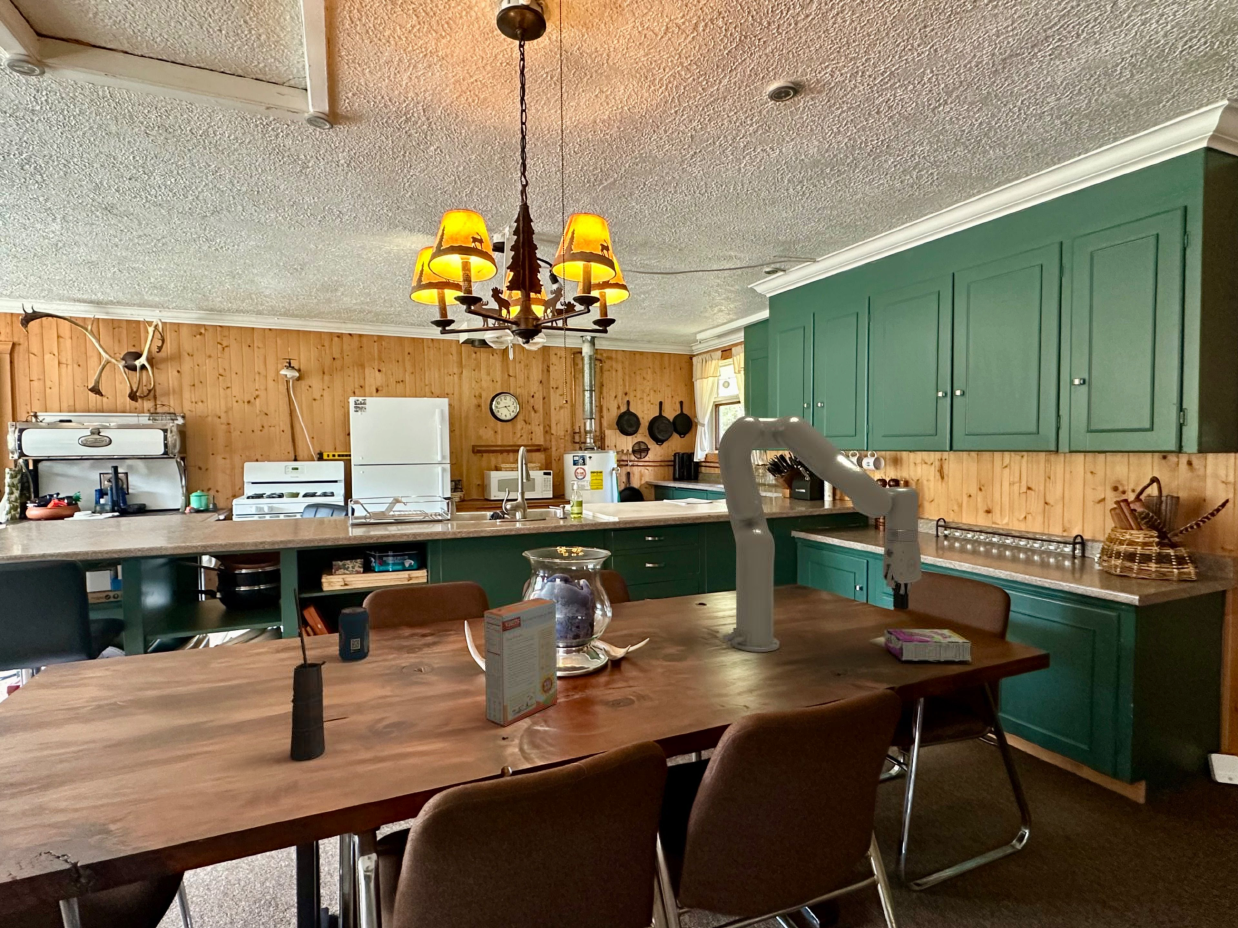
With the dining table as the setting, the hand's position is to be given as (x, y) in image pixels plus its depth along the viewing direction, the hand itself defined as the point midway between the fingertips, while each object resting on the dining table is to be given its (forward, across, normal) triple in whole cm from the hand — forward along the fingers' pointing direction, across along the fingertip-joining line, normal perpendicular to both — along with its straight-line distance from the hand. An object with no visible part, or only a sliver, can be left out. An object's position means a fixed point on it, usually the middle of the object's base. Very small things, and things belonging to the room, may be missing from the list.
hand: (900, 608), depth 155 cm
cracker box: (+11, -95, +19) cm, 98 cm away
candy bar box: (+8, -5, -1) cm, 9 cm away
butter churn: (+11, -131, +23) cm, 133 cm away
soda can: (+11, -117, +70) cm, 137 cm away
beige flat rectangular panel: (+11, +6, 0) cm, 13 cm away
